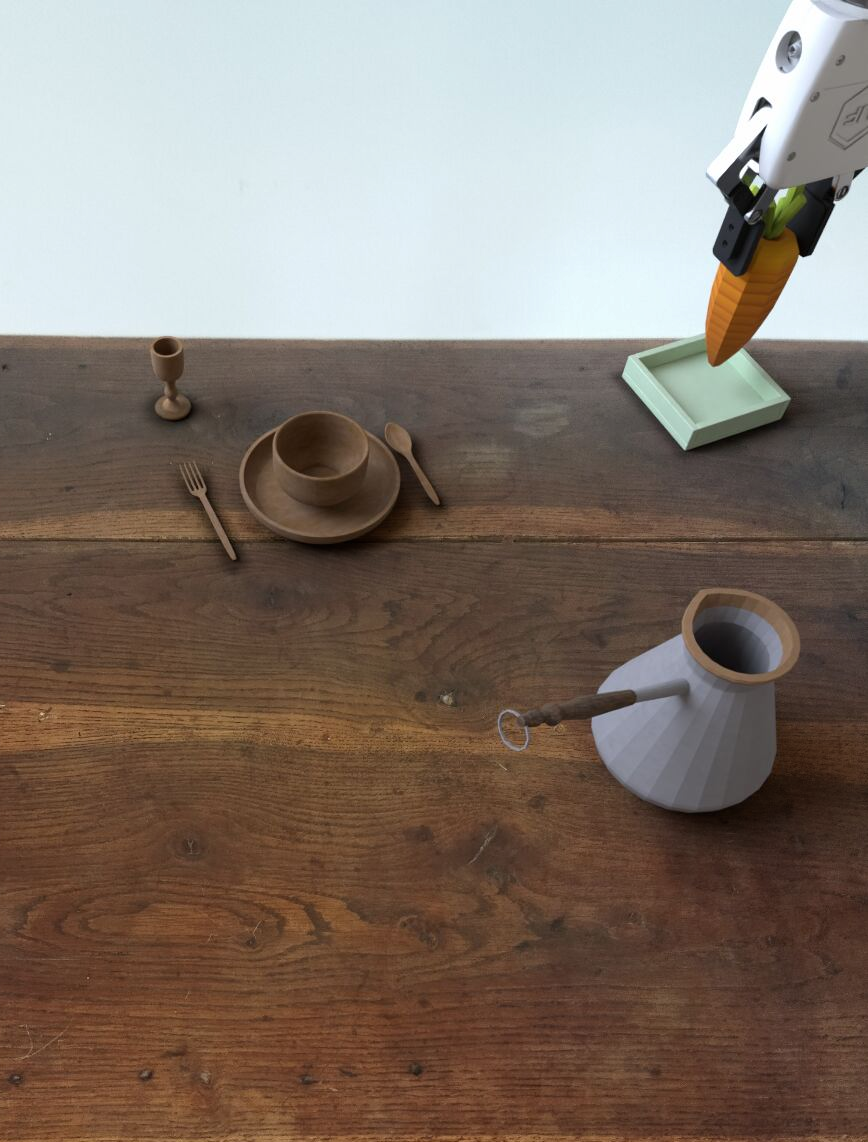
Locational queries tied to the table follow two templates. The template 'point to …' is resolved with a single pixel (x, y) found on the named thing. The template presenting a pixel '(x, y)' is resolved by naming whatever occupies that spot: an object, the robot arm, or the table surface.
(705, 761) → the coffee pot
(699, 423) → the serving dish
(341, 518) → the place setting
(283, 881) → the table surface
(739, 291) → the carrot
